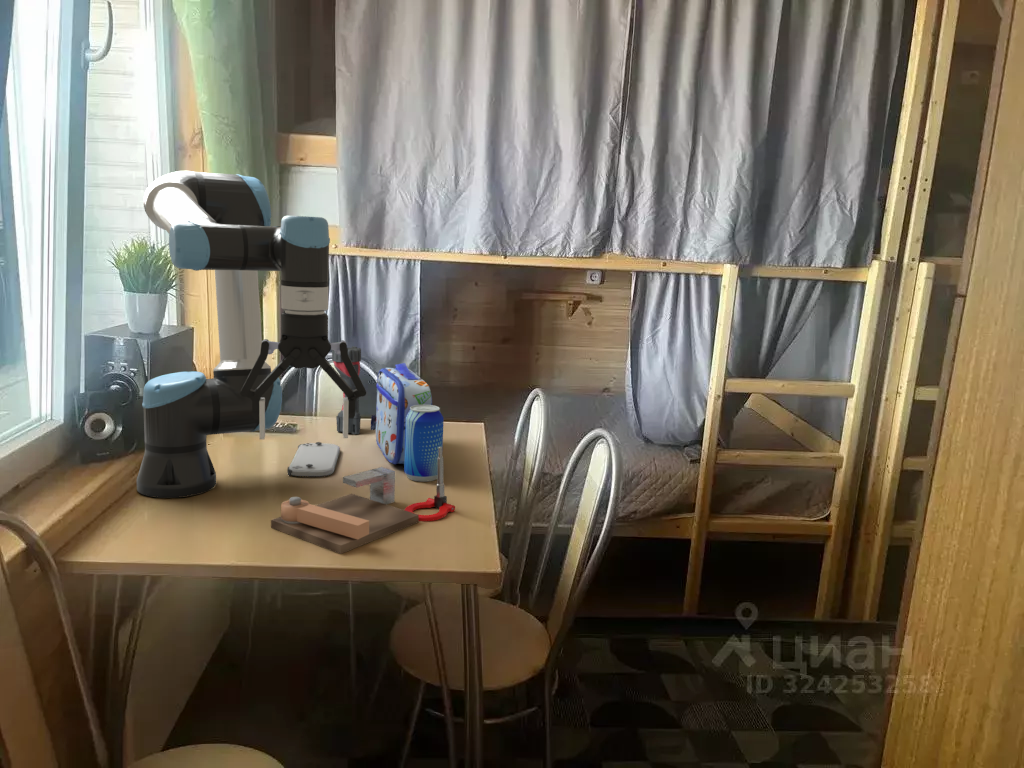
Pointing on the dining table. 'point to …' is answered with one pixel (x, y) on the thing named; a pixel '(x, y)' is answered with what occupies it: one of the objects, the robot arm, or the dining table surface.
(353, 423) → the flashlight
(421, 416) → the beer can
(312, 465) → the handheld gaming console
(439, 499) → the tow hook
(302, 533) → the pintle plate
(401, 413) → the lunch box
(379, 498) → the keeper
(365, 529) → the link
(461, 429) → the dining table surface
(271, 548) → the dining table surface
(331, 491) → the dining table surface
